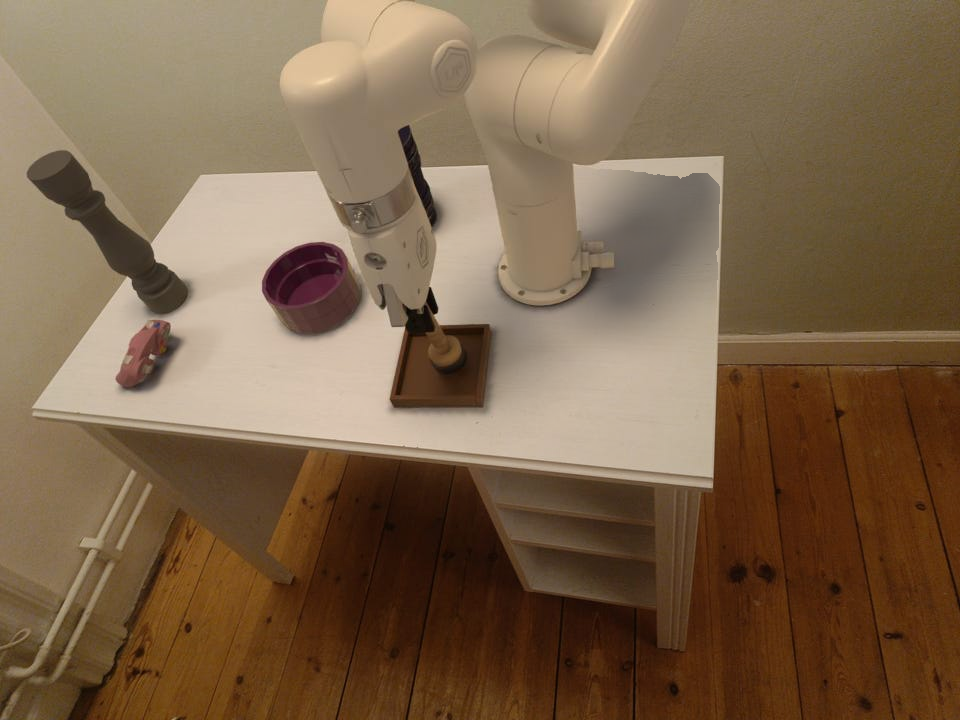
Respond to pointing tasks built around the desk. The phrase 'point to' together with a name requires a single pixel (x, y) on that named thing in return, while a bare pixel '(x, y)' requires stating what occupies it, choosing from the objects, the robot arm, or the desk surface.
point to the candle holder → (107, 230)
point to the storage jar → (417, 172)
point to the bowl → (311, 287)
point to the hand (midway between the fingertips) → (423, 320)
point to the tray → (435, 390)
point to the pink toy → (143, 352)
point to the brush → (445, 350)
